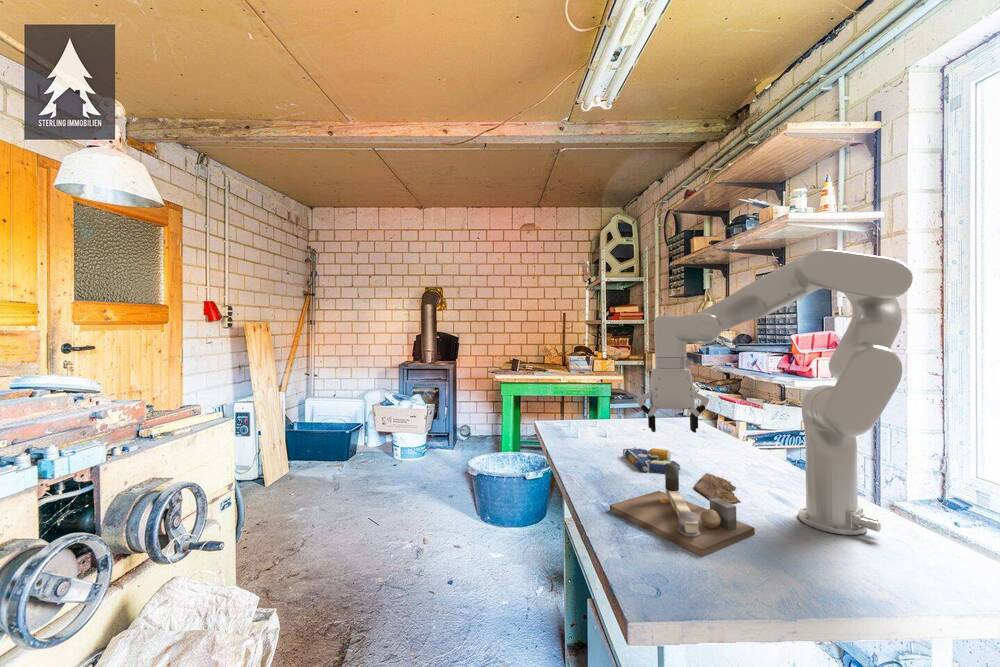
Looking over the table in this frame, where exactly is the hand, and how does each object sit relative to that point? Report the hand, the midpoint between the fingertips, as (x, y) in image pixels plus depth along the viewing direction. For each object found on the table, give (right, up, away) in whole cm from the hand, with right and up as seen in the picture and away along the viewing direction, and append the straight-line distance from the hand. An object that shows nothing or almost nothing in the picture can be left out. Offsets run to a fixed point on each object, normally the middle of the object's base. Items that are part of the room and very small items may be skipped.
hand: (673, 431), depth 111 cm
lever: (-2, -17, -9) cm, 19 cm away
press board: (-2, -20, -8) cm, 21 cm away
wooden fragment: (+17, -20, +13) cm, 29 cm away
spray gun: (+8, -20, +36) cm, 41 cm away
